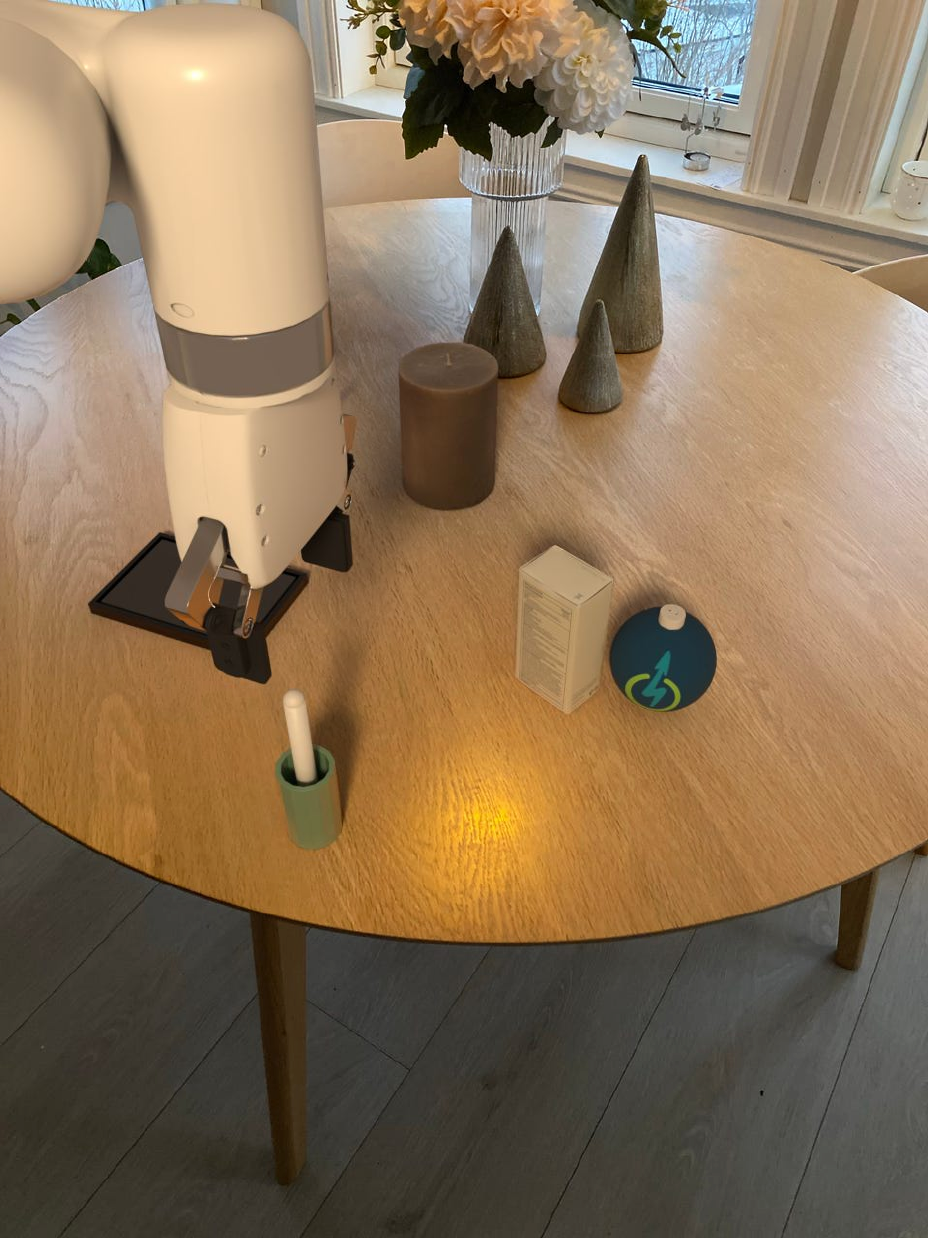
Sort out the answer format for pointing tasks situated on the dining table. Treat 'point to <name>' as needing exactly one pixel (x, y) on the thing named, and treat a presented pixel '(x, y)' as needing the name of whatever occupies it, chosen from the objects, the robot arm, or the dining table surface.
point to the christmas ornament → (663, 658)
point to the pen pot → (310, 801)
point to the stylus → (300, 737)
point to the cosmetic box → (562, 627)
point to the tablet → (174, 631)
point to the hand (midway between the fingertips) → (288, 615)
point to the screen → (155, 576)
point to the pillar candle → (448, 424)
